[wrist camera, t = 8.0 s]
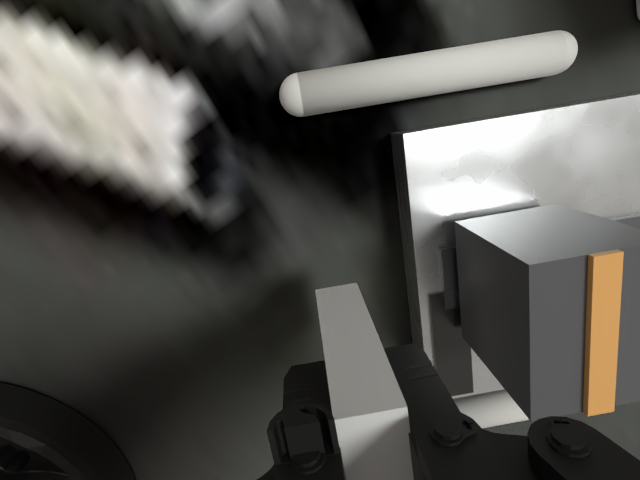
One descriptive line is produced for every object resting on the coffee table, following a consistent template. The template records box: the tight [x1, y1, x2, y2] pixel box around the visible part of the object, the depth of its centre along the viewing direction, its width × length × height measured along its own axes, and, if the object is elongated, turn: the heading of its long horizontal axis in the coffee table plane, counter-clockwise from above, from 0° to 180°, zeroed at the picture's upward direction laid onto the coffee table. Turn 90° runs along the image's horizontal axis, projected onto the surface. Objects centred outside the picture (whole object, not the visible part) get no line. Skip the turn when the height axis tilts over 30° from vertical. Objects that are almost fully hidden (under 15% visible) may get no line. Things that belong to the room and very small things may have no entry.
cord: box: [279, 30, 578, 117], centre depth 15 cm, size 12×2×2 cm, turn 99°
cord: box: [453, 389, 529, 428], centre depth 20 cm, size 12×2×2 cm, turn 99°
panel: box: [390, 91, 640, 399], centre depth 17 cm, size 15×12×2 cm
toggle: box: [454, 204, 640, 421], centre depth 14 cm, size 4×5×5 cm
